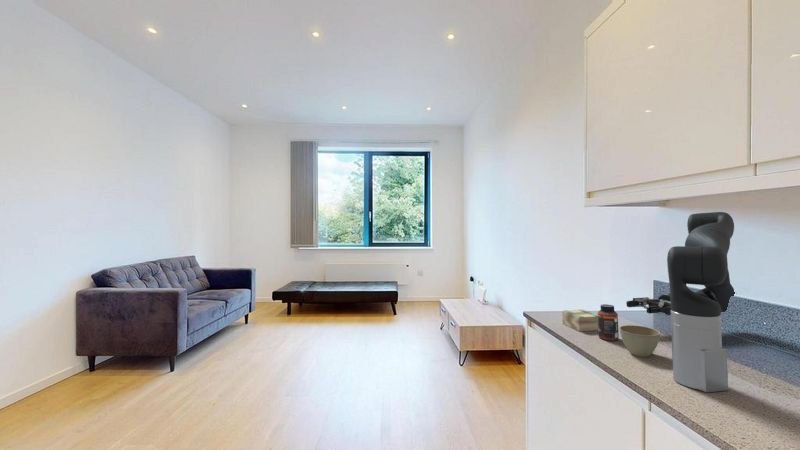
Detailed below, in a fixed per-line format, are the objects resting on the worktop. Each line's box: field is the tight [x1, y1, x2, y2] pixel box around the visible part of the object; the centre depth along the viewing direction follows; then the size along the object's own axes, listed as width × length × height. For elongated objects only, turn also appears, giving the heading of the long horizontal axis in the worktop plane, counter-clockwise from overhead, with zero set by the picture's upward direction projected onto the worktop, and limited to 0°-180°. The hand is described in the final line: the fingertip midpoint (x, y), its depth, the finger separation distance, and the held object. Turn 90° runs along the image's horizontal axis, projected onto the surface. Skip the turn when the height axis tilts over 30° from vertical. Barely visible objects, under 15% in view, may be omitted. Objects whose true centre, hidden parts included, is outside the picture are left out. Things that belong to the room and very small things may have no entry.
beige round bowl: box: [618, 324, 661, 358], centre depth 101 cm, size 10×10×7 cm
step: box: [561, 309, 598, 332], centre depth 129 cm, size 10×9×5 cm
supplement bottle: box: [597, 303, 620, 342], centre depth 115 cm, size 6×6×11 cm
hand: (637, 307), depth 117 cm, fingers open, 8 cm apart
